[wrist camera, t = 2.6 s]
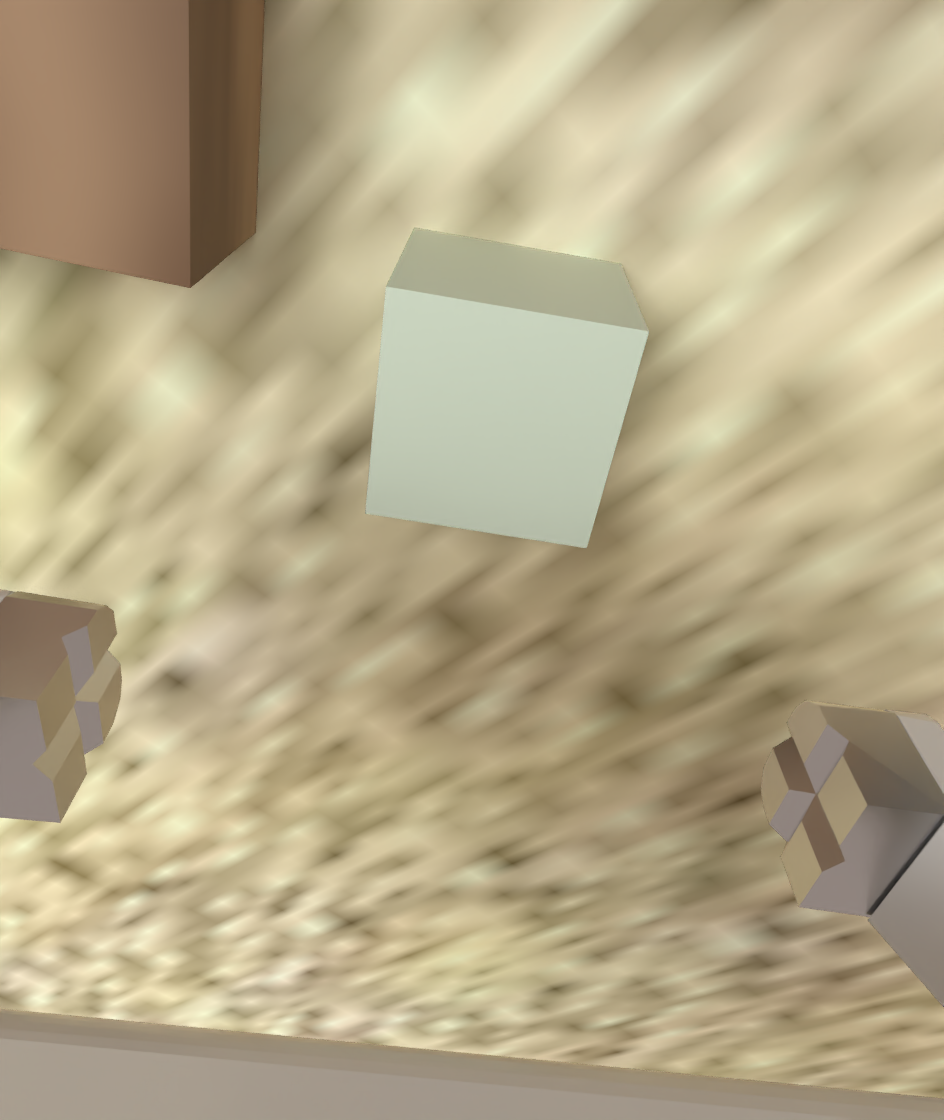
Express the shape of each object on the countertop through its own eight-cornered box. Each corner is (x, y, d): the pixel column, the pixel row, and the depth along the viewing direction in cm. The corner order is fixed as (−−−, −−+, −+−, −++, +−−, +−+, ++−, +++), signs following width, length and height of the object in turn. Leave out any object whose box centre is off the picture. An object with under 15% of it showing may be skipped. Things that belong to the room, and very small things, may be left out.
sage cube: (620, 262, 19) (649, 331, 15) (573, 447, 22) (586, 548, 18) (414, 226, 19) (385, 286, 15) (393, 418, 22) (365, 513, 18)
